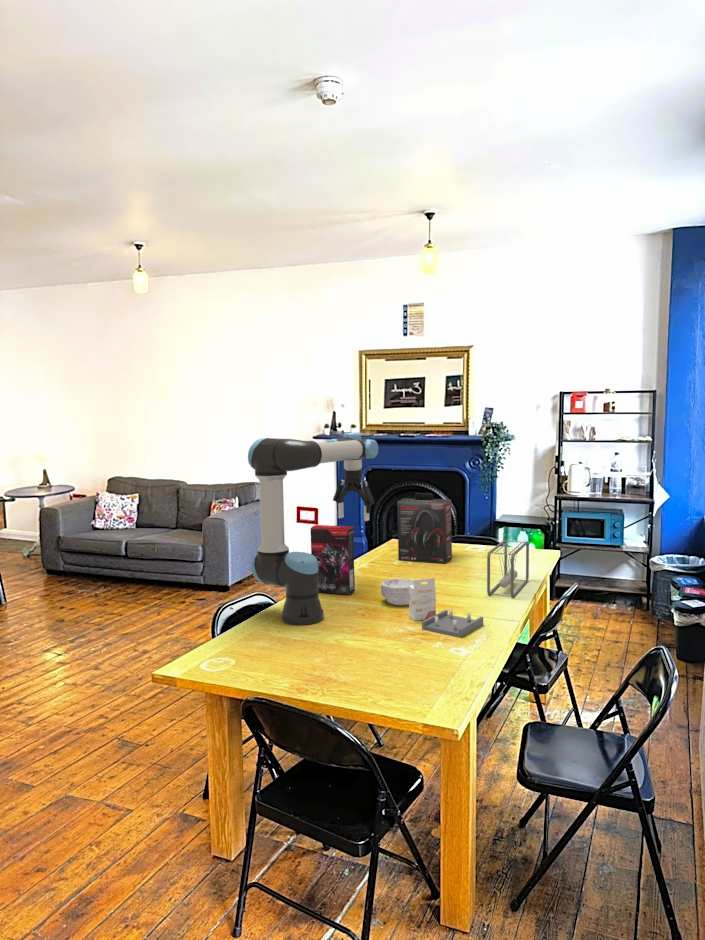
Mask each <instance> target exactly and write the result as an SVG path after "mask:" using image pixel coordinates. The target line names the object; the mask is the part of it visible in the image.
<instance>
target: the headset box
mask: <svg viewBox="0 0 705 940" xmlns="http://www.w3.org/2000/svg"><path fill="white" fill-rule="evenodd" d="M396 505H397V508H396V509H397V511H396V512H397V545H398V546H397V548H398V550H397V553H398V555H397V556H398V561H404V562H419V563H420V562H421V563H432V564H433V563H436V564H447V563H448V562H449V561H451V559H452V558H453V548H452V547H453V546H452V545H453V542H452V541H453V536H452V533H453V532H452V530H453V529H452V499H444V498H442V499H441V498H440V499H437V498H434V495H433V493H431V492H430V493H429V492H423V493H422V492H416V493H415V494H414V498H407V497H405V498H404V497H403V498H402V499H400V500H398V501H397V502H396Z"/></svg>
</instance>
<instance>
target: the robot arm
mask: <svg viewBox="0 0 705 940" xmlns="http://www.w3.org/2000/svg"><path fill="white" fill-rule="evenodd" d="M378 453H379V445H378V442H377V440H375V439H370V438H365V439H364V438H363V439H362V435H361V432H344V433H343V438H332V439H331V438H330V439H328V440H327V441H326V442H317V441H315V440H301V439H293V438H273V437H266V438H258V439H256V440H255V441H253V443H252V445H250V447H249V449H248V452H247V461H248V464H249V466H250V467H251V468H252V469H253V470H254V476H255V477H256V478H257V479H258V481H259V506H260V507H259V513H260V515H259V516H260V543H261V544H260V545H259V547H258V548H257V549H256V552H257V553H255V554H254V556H253V559H252V560H251V563H250V564H251V565H250V568H251V574H252V575H253V577H254V579H256V581H257V582H259V583H263V584H265V585H269V586H275V587H281V588H285V601H284V603H283V607H282V611H281V621H282V622H284V623H285V624H290V625H296V626H297V625H298V626H303V625H304V626H305V625H313V624H318V623H319V622H322V621H323V620H324V618H325V614H324V609H323V608H322V605H321V601H320V598H319V597H320V596H319V592H318V562H317V558H316V557H315V556H314V555H312V554H311V553H309V552H305V551H290V547H289V546H287V544H286V543H285V507H284V506H285V505H284V504H285V503H284V479H285V477H286V476H287V475H288V472H295V471H299V470H304V469H310V468H315V467H318V466H319V465H320V464H326V463H333V462H341V461H342V462H343V469H344V470H343V478H344V479H340V480H338V486H337V488H336V491H335V493H334V496H333V498H332V501H333V502H336V510H337V511H338V512H337V513H338V514H337V515H338V519H342V518H344V517H345V515H344V512H345V511H344V505H345V504H344V502H343V500H344V499H345V498H346V496H347V495H348V493H349V492H354V493H356V494H358V495H359V497H360V499H361V500H362V502H363V503H364V505H363V520H364V522H368V521H370V513H371V506H372V505H374V504H375V499H374V497H373V495H372V494H373V493H371V490H370V487H369V482H368V481H362V479H363V470H362V467H363V466H362V465H363V463H362V462H363V461H362V460H363V459H375V458H376V457H377V456H378Z"/></svg>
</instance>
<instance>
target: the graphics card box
mask: <svg viewBox="0 0 705 940" xmlns="http://www.w3.org/2000/svg"><path fill="white" fill-rule="evenodd" d="M354 528H355V527H354V526H353V525H352V526H346V525H344V526H343V525H325V524H315V525H314V524H313V526H311V527H310V554H312V555H314V556H315V557H316V558H317V562H318V593H321V594H322V593H323V594H337V595H348V596H349V595H351V594H353V593H354V592H355V591H356V588H355V587H356V585H355V580H356V579H355V578H356V577H355V549H354V548H355V547H354V543H355V541H354V538H355V537H354Z"/></svg>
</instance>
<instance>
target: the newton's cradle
mask: <svg viewBox="0 0 705 940" xmlns="http://www.w3.org/2000/svg"><path fill="white" fill-rule="evenodd" d="M509 543H519V544H517V545H516V546H514V547H513V548H512V549H511V546H510V544H509ZM521 544H522V545H521ZM509 546H510V547H509ZM525 547H526V550H525V580H524V579H516V578H517V577H518V572H517V570H515V567H516V564H515V563H516V561H517V559H516V558H517V557H518V553H519V552H520V551H521V550H523V549H524V548H525ZM509 548H510V549H509ZM501 550H502V551H501ZM502 552H503V553H502ZM491 554H494V555H495V554H496V555H498V557H499V559H501V558H502V561H503V562H501V560H499V562H500V565H502V564H503V568H502V566H500V568H501V569H500V570H503V572H501V574H502V578H501V579H500V580H499V582H498V583H496V585H494V587H493V588H492V589H491ZM500 555H504V559H503V556H501V557H500ZM508 556H509V557H508ZM486 559H487V560H486V567H487V568H486V569H487V570H486V581H487V582H486V592H487V595H488V596H491V595H492V596H493V595H494V596H495V595H496V596H503V597H504V596H505V597H511V599H513V598H515V597H516V596H517V595H518V593H519V592H521V590H522V589H523V587H525V585H526V584H527V583H528V582H529V577H530V576H529V575H530V568H529V567H530V563H529V561H530V543H529V541H527V540H525V541H518V540H516V541H515V540H507V539H503V540H502V541H500V542H499V543H498V544H496V546H494V547H492V549H490V550H489V551H488V553H487V555H486ZM503 573H504V574H503ZM514 581H517V582H518V581H519V582H522V583H521V584H520V585H519V587H518V588H516V590H515V591H514V589H515V587H514V586H515V585H514V583H515V582H514ZM509 585H510V594H509V595H508V594H499V593H494V592H495V591H496V590H497V589H498V588H500V587H501V588H504V589H505V588H508V587H509Z"/></svg>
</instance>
